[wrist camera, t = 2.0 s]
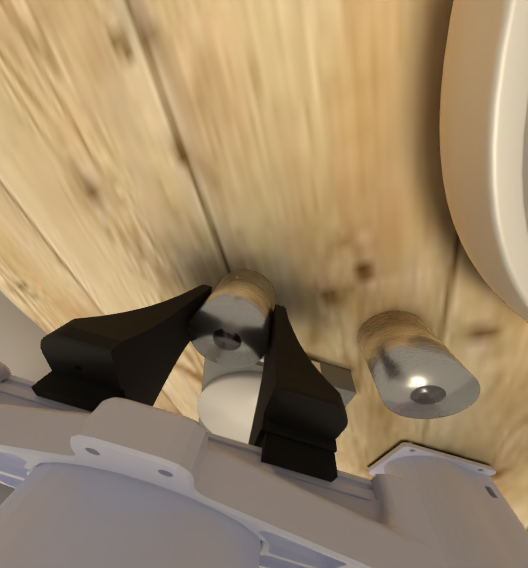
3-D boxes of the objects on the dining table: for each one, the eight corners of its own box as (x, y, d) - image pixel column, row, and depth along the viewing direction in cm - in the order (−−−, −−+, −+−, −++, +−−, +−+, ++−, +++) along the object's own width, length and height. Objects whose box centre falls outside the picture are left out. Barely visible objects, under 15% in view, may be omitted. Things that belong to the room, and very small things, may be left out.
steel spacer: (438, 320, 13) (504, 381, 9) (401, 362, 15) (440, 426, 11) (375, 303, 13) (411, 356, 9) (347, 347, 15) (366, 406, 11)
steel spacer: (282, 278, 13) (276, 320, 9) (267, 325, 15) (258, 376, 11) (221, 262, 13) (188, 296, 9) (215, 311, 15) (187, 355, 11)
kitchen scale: (352, 366, 16) (363, 399, 13) (301, 438, 22) (302, 469, 20) (215, 328, 16) (201, 354, 13) (205, 410, 22) (194, 437, 20)
